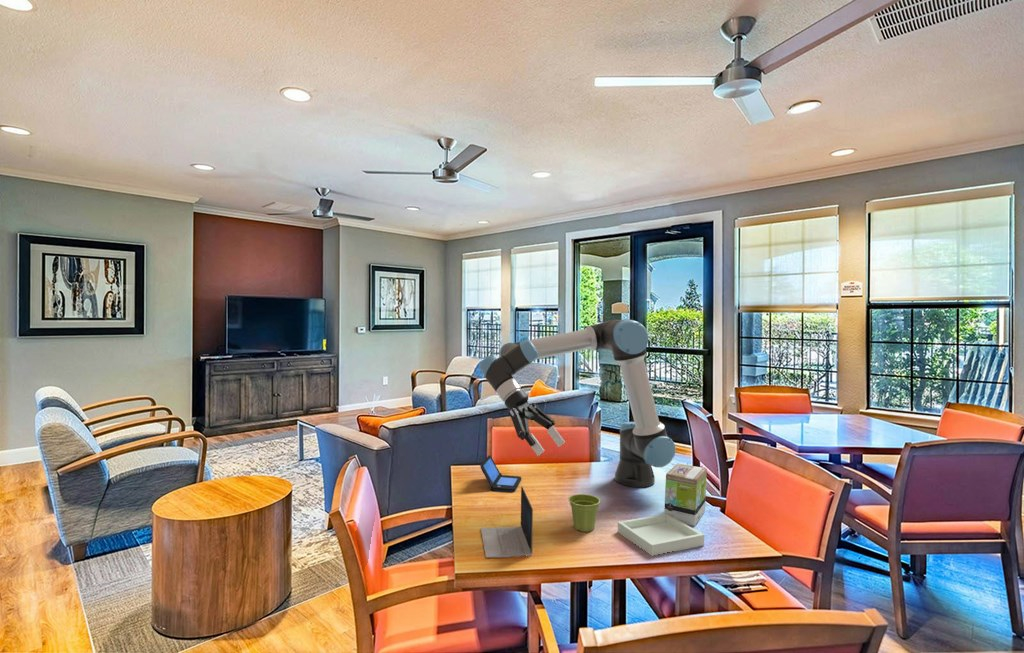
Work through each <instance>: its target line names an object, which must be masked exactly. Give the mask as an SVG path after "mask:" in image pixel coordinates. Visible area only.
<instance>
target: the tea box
mask: <svg viewBox="0 0 1024 653" xmlns="http://www.w3.org/2000/svg"><path fill="white" fill-rule="evenodd" d="M707 472H708V471H707V468H706V467H700V466H693V465H689V464H683V463H679V462H678V463H676V464H675V465H674V466H673V467H672V468H671V469H670V470H669V471H668V472H666V474H665V490H664V507H663V508H664V510H663V511H664V512H663V514H668V515H670V516H672V517H673V518H675V519H677V520H679V521H681V522H682V523H684V524H686V525H688V526H693V527H694V526H696V525H697V523H698V522H699V520H700V519H701V518H702V516H703V515H704V512H706V502H707V501H706V500H707V499H706V498H707V497H706V495H707V474H708V473H707Z"/></svg>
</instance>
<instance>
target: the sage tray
mask: <svg viewBox="0 0 1024 653" xmlns="http://www.w3.org/2000/svg"><path fill="white" fill-rule="evenodd" d="M617 533H618V534H620V536H623V537H624V538H625V539H627V540H628V541H630V542H631V543H632V542H633V544H634V545H635V544H636V547H638V546H639V547H638V548H640V549H641V548H642V549H643V550H642V549H641V550H642V551H644V550H645V551H646V552H645V551H644V552H645V553H647V552H648V553H649V554H650V555H649V554H648V553H647V554H648V555H649V556H651V555H652V556H651V557H654V556H653V555H655V556H659V555H658V554H660V555H663V553H665V554H668V553H667V552H670V553H673V552H672V551H674V552H679V551H683V550H688V549H693V548H699V547H703V546H705V534H704V533H703V532H701V531H700V530H697V529H696V528H693V527H691V525H688V524H684V523H682V522H681V521H679V520H677V519H675V518H673V517H672V516H670V515H668V514H664V513H663V514H657V515H656V514H655V515H652V516H643V517H639V518H633V519H629V520H627V519H626V520H621V521H617Z"/></svg>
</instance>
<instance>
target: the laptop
mask: <svg viewBox="0 0 1024 653" xmlns="http://www.w3.org/2000/svg"><path fill="white" fill-rule="evenodd" d="M520 492H521V493H520V526H517V525H516V526H500V527H496V526H495V527H481V528H480V532H481V537H482V543H483V548H484V549H483V550H484V556H485V558H487V559H488V558H491V559H492V558H494V559H495V558H514V557H513V556H516V557H515V558H520V557H519V556H526V555H527V557H532V556H533V544H534V543H533V538H534V537H533V536H534V535H533V533H534V532H533V530H534V527H533V522H534V520H533V518H534V516H533V515H534V508H533V506H532V504H531V502H530V500H529V498H528V496H527V493H526V492H525V490H524V487H523V486H521V487H520ZM511 556H512V557H511Z"/></svg>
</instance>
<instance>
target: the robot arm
mask: <svg viewBox="0 0 1024 653" xmlns="http://www.w3.org/2000/svg"><path fill="white" fill-rule="evenodd" d="M648 344H649V333H648V330H647V328H646V327H645V326H644V325H643V324H642V323H641V322H639V321H636V320H634V319H628V318H626V319H611V320H606V321H603V322H600V323H597V324H592V325H588V326H586V327H585V329H580V330H574V331H569V332H564V333H559V334H555V335H554V334H553V335H549V336H543V337H539V338H533V339H525V340H523V341H516V342H507V343H505V344H503V345H502V346H501V347H500V348H499V356H498V355H497V354H491V355H488V356H486V357H485V358H484V359H483V360H481V362H480V364H479V371H480V372H481V374H482V375H483V377H484V378H485V380H486V381H487V382H488V383H489V384H490V386H491V387H492V389H493V390H494V392H496V395H498V397H499V399H501V401H502V402H504V405H505V406H506V408H507V409H508V411H509V412H507V414H508V415H509V417H510V419H511V421H512V424H513V426H514V430H515V432H516V436H517V437H518V438H519V439H520V440H521V441H524V440H525V441H526V442H527V444H528V445H529V446H530V448H531V449H532V451H533V452H534V454H536V456H537V457H540V456H541V455H542V454H543V453H544V452H545V451H546V450H545V449H544V448H543V446H542V444H541V443H540V442H539V440H538V439H537V438H536V437H535V435H534V434H533V433H531V432H530V426H529V425H530V424H529V421H534V422H536V423H537V424H538V425H540V426H541V427H544V429H546V432H547V434H548V435H549V436H550V437H551V439H552V440H553V441H554V443H555V444H556V445H557V447H558V448H560V447H561V446H562V445H563V444H565V442H566V441H565V439H564V438H563V437H562V435H561V434H560V432H559V431H558V430H557V429H556V428H555V426H554V425H556V421H555V420H554V419H552V418H551V417H550V415H548V414H546V412H544V411H543V410H542V409H541V408H540V407H539V406H538V405H537V404H536V403H535V402H532V403H531V404H530V403H528V402H529V396H528V394H526V392H525V391H524V390H523V389H522V387H521V386H520V385H519V383H518V381H516V379H515V378H514V375H516V374H517V373H519V372H520V371H521V370H522V369H524V368H526V367H527V366H528V365H530V364H532V363H533V362H534V361H535V360H540V359H544V358H549V357H555V356H559V355H565V354H569V353H575V352H580V351H584V350H590V351H592V352H595V351H599V350H600V351H601V350H604V351H605V350H606V351H612V355H613V360H614V362H616V363H618V364H619V366H620V369H621V370H620V371H621V374H622V377H623V382H624V386H625V390H626V393H627V398H628V401H629V406H630V410H631V413H632V417H633V421H625V422H622V423H620V428H619V461H618V463H617V467H616V471H615V472H614V481H615V482H616V483H618V484H620V485H624V486H627V487H634V488H635V487H636V488H645V487H651V486H653V485H654V484H655V483H656V482H655V481H656V480H655V479H656V478H655V477H656V476H655V474H654V470H653V467H654V468H664V467H667V465H669V464H670V463H672V461H673V458H675V455H676V443H675V442H674V441H673V439H672V438H670V437H669V436H668V434H667V429H666V426H665V424H664V423H663V422H661V421H660V419H659V416H658V413H657V412H658V411H657V408H656V403H655V398H654V394H653V392H652V388H651V383H650V379H649V375H648V370H647V366H646V363H645V358H646V355H648V352H647V346H648Z"/></svg>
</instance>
